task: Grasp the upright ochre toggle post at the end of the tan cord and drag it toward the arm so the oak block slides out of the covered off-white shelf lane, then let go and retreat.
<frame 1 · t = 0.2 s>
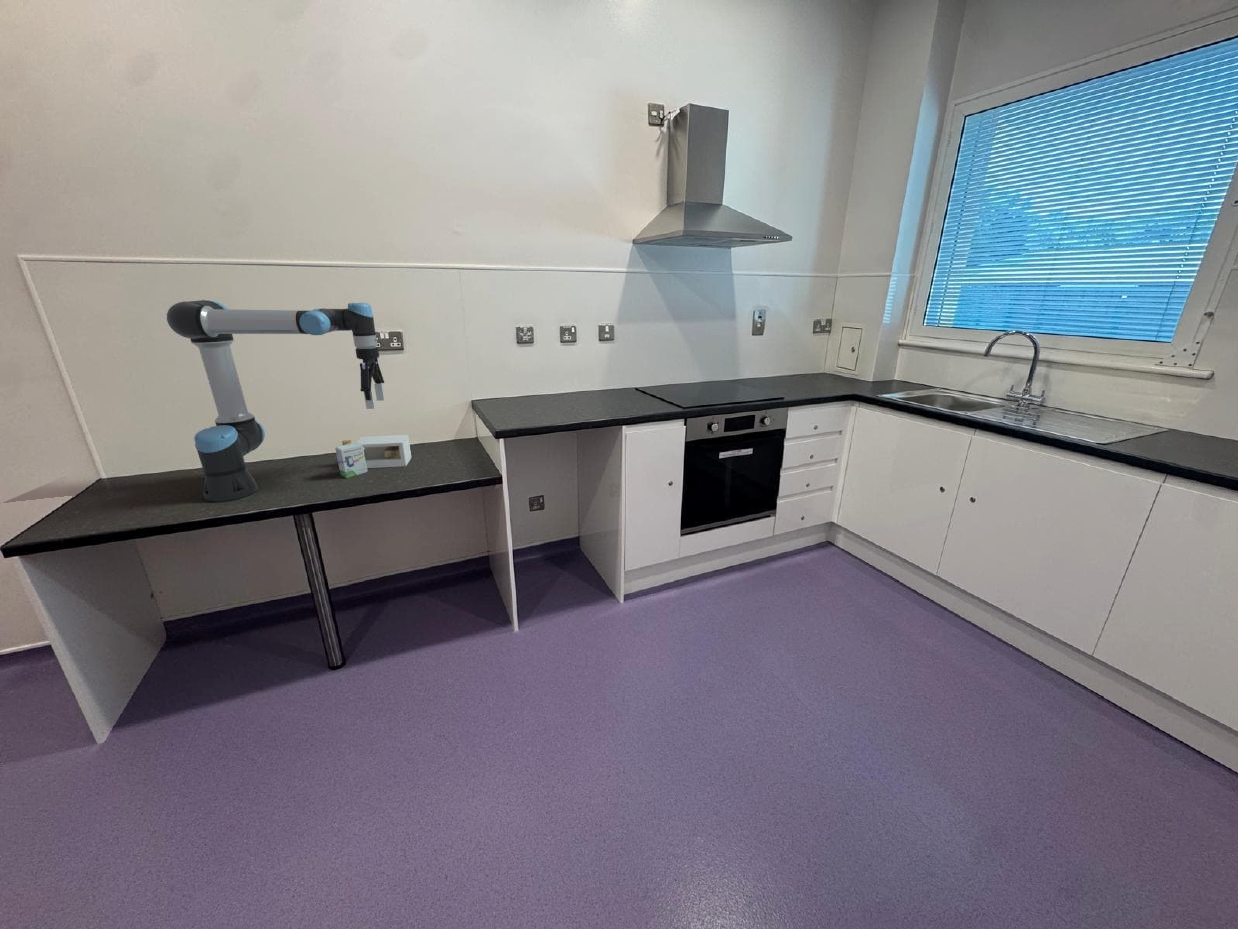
hand: (376, 404, 187), 27 cm above the countertop, fingers open, 13 cm apart
ink box: (354, 474, 194), on the countertop
corded block: (373, 451, 203), point 5 cm above the countertop, slide at 0.0 cm
shelf lane: (384, 463, 206), on the countertop
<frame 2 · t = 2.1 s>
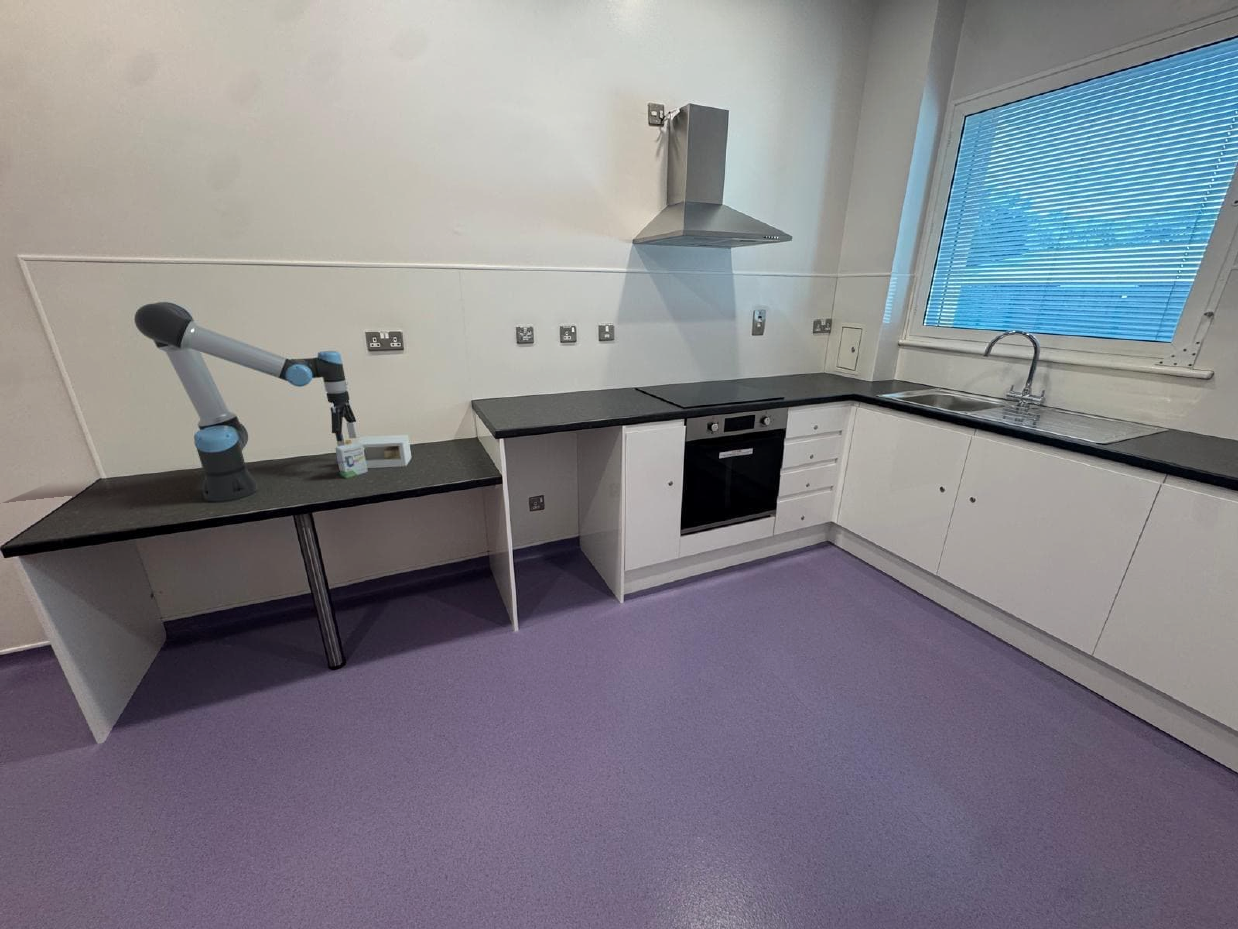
hand: (348, 443, 200), 9 cm above the countertop, fingers open, 13 cm apart
nothing on the countertop moved.
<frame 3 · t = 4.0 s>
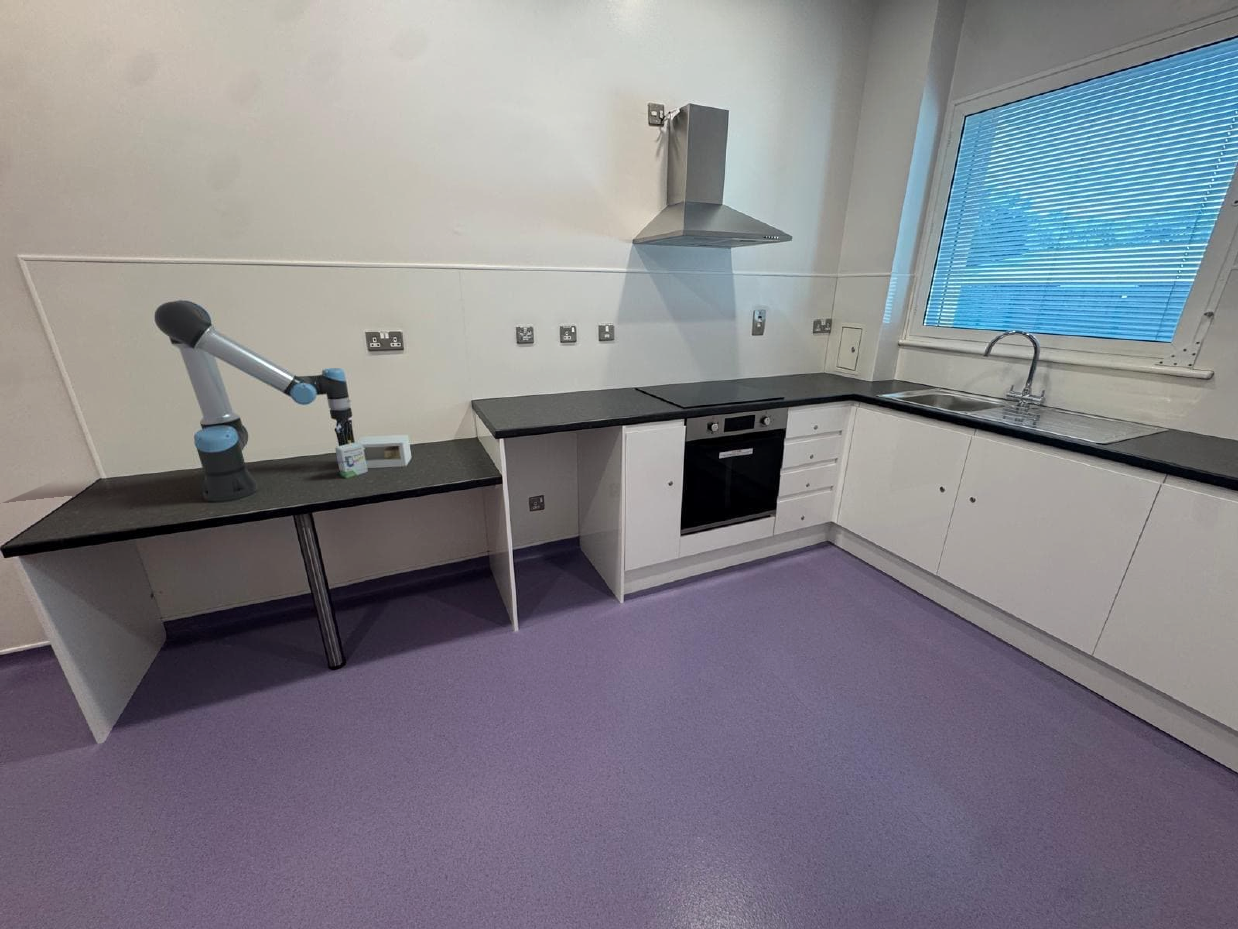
hand: (350, 463, 203), 1 cm above the countertop, fingers closed on corded block, 3 cm apart
corded block: (373, 451, 203), point 5 cm above the countertop, slide at 0.0 cm, touching gripper
everything else where it was.
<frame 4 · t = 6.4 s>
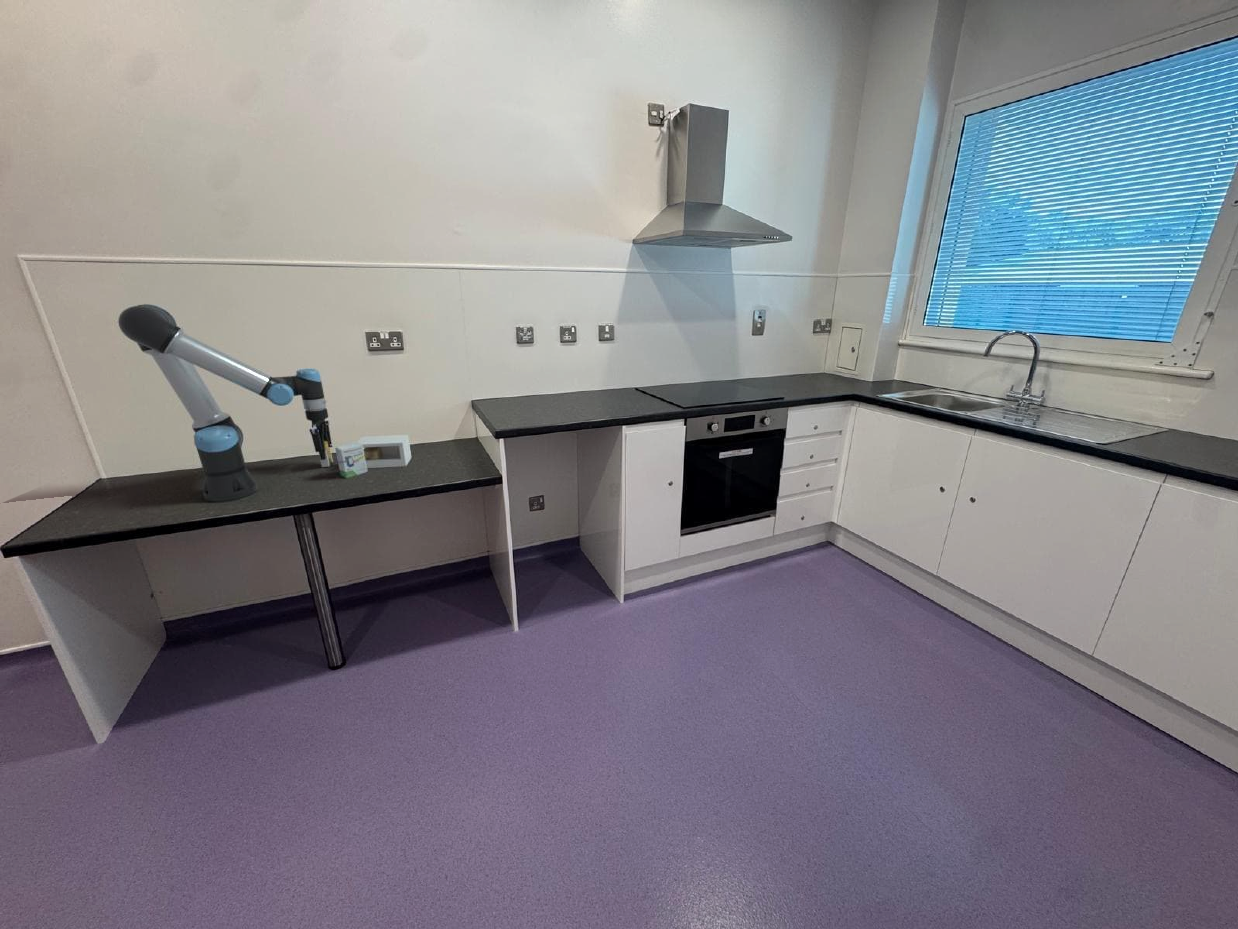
hand: (327, 464, 202), 1 cm above the countertop, fingers closed on corded block, 3 cm apart
corded block: (350, 452, 202), point 5 cm above the countertop, slide at 8.9 cm, touching gripper
everything else where it was.
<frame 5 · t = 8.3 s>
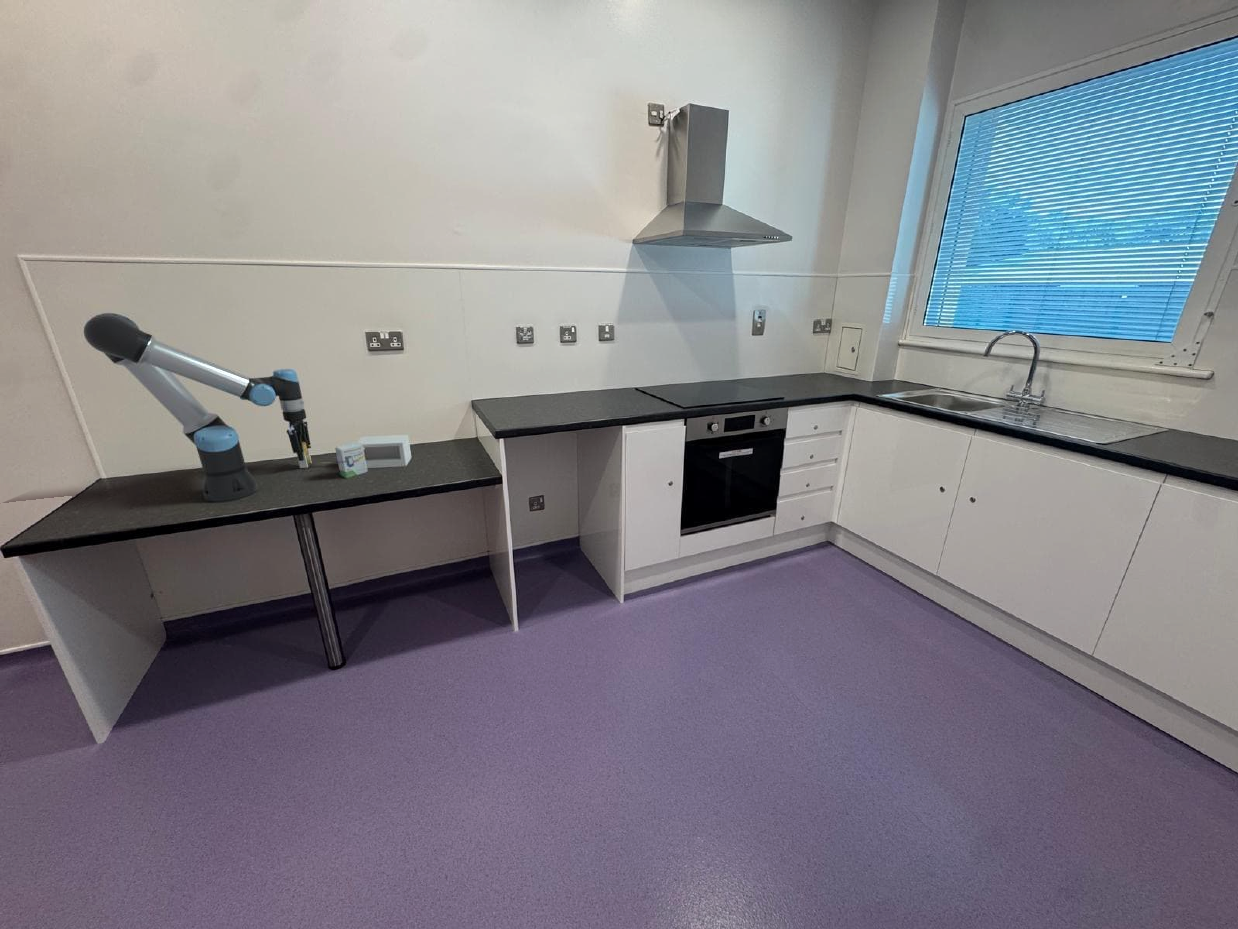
hand: (306, 465, 200), 1 cm above the countertop, fingers closed on corded block, 3 cm apart
corded block: (329, 453, 200), point 5 cm above the countertop, slide at 16.9 cm, touching gripper
everything else where it was.
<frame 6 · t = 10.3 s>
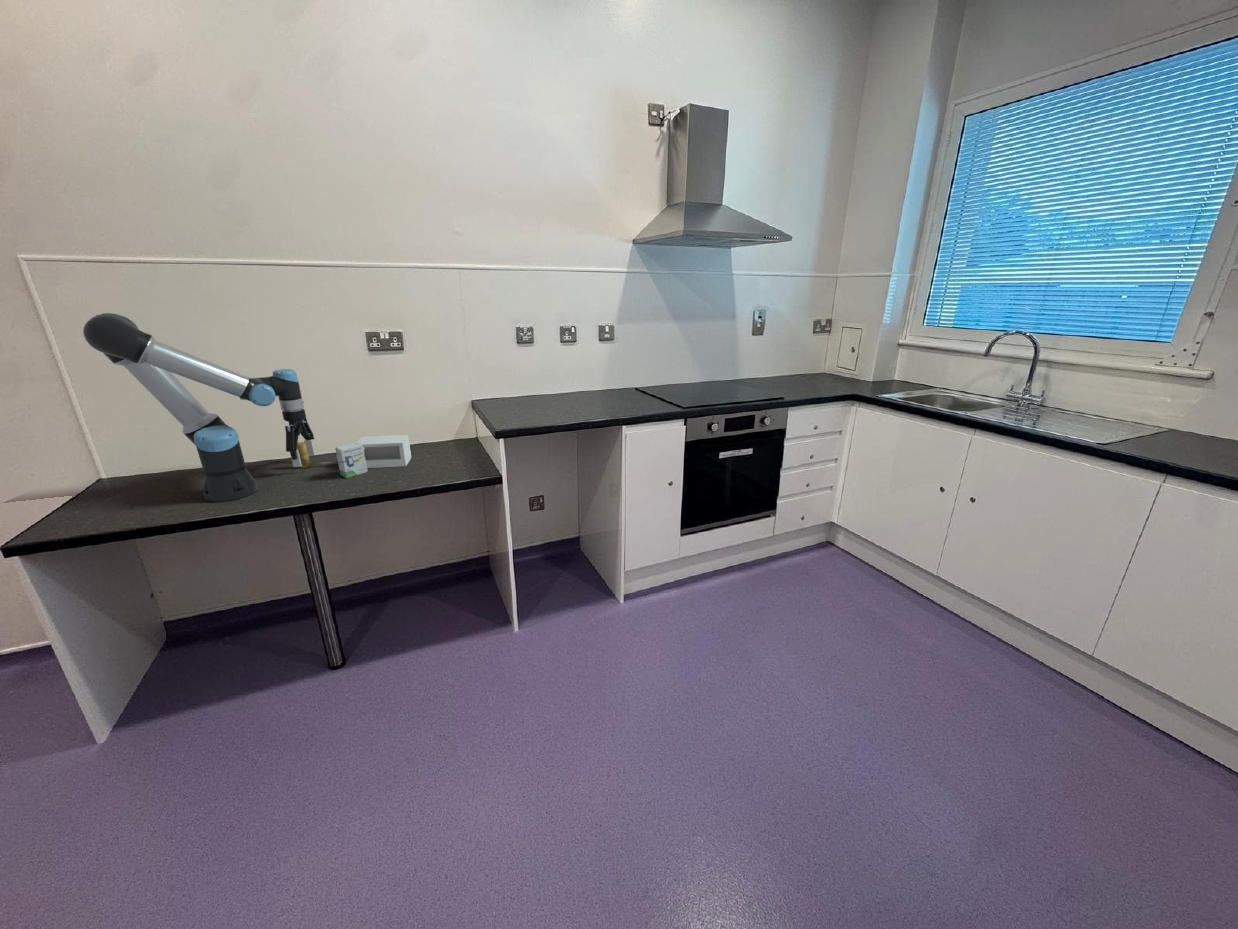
hand: (304, 460, 199), 3 cm above the countertop, fingers open, 13 cm apart
corded block: (328, 453, 200), point 5 cm above the countertop, slide at 17.0 cm
everything else where it was.
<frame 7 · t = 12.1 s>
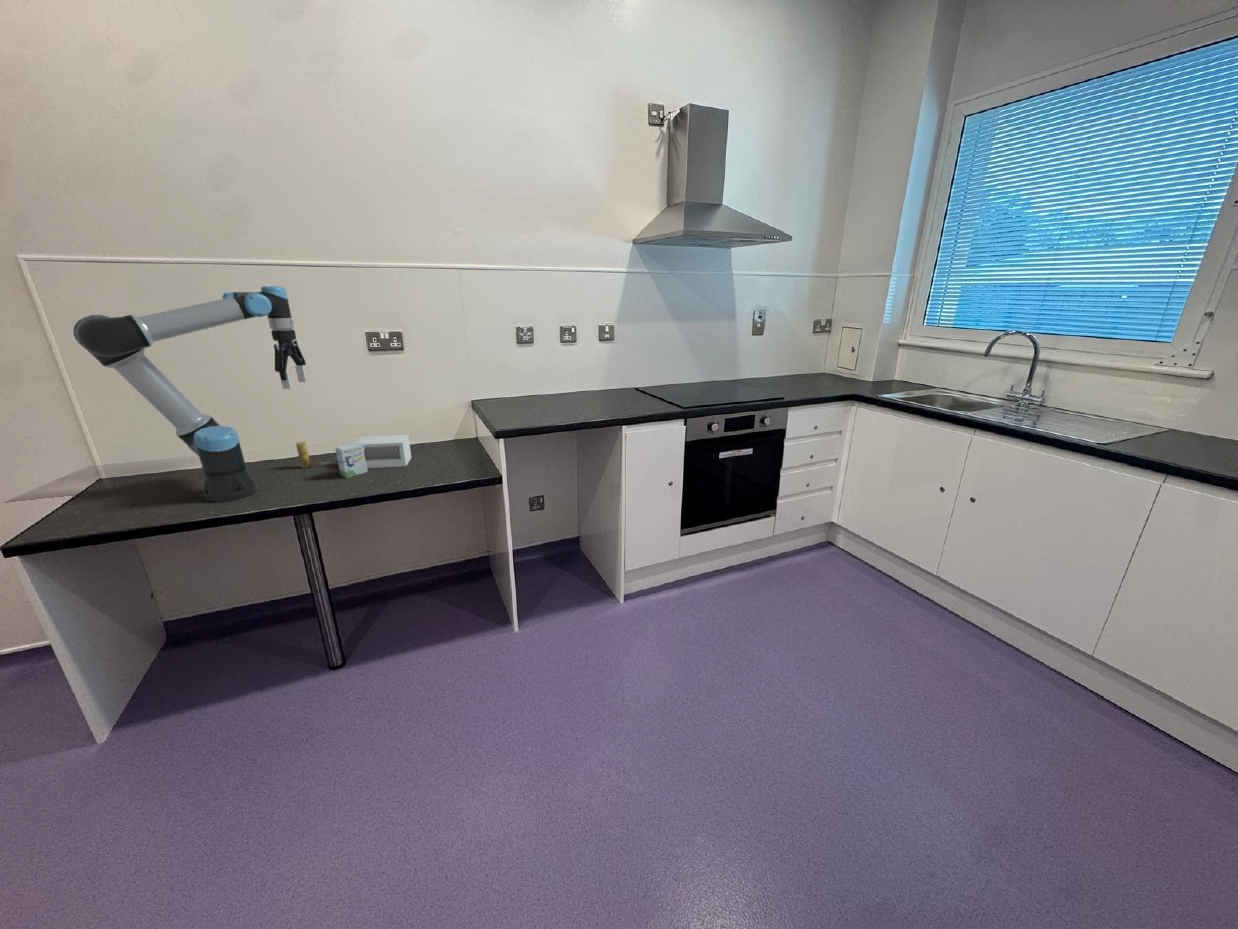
hand: (295, 385, 194), 33 cm above the countertop, fingers open, 13 cm apart
nothing on the countertop moved.
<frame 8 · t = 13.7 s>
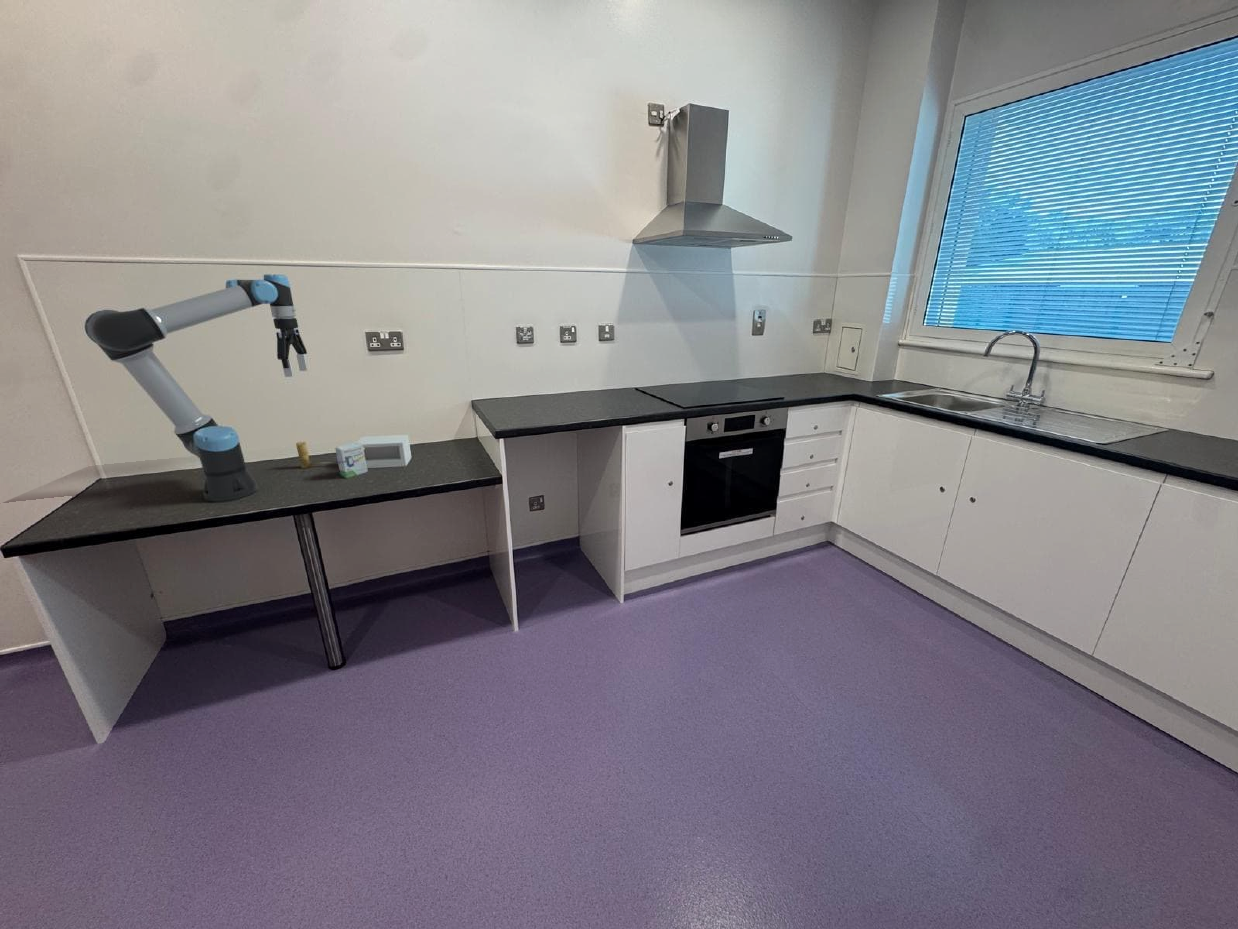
hand: (296, 373, 195), 37 cm above the countertop, fingers open, 13 cm apart
nothing on the countertop moved.
at the end: corded block slide at 17.0 cm; the gripper is holding nothing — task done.
